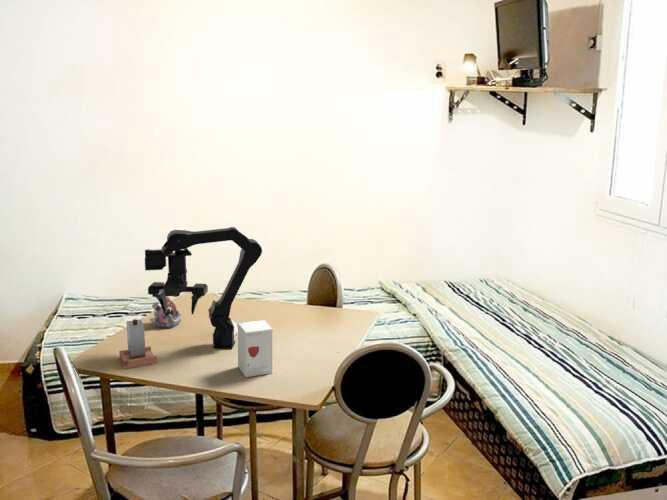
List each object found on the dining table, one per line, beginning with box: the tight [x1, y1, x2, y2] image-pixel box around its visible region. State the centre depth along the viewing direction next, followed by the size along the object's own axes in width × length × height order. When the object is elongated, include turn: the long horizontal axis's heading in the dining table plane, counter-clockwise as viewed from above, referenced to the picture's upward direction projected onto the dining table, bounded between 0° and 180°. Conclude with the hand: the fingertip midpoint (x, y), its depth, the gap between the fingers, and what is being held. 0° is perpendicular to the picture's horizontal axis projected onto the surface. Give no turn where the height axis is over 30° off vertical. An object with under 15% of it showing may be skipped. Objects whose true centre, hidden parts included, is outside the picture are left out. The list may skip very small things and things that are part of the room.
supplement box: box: [237, 319, 273, 378], centre depth 196 cm, size 9×9×15 cm
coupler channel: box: [119, 345, 158, 370], centre depth 203 cm, size 10×10×2 cm
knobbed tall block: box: [125, 318, 146, 360], centre depth 201 cm, size 4×5×13 cm
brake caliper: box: [149, 296, 182, 329], centre depth 235 cm, size 11×11×12 cm
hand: (179, 313), depth 209 cm, fingers open, 9 cm apart
